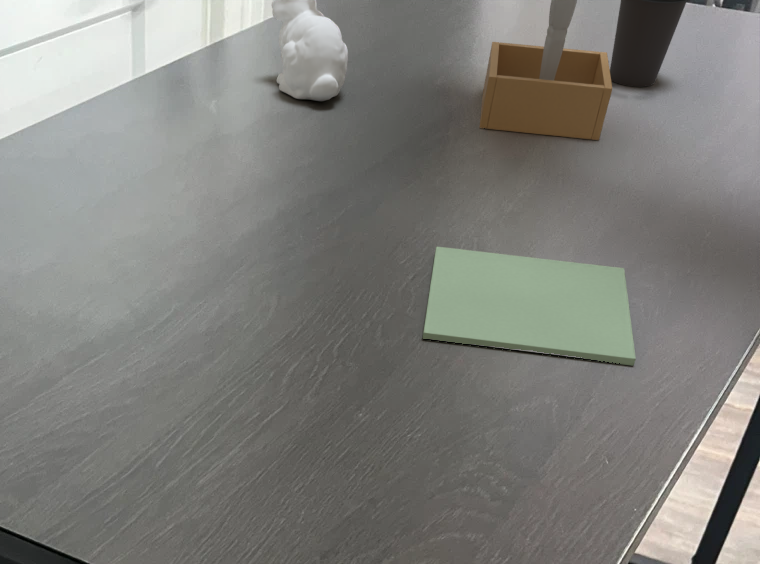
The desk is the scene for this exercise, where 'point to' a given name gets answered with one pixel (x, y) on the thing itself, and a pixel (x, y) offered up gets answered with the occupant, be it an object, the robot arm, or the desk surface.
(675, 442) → the desk surface
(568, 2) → the pen
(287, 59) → the rabbit
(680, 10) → the coffee cup
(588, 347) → the mat
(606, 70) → the storage box
